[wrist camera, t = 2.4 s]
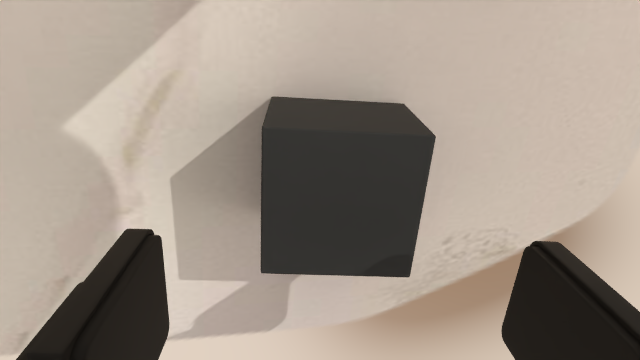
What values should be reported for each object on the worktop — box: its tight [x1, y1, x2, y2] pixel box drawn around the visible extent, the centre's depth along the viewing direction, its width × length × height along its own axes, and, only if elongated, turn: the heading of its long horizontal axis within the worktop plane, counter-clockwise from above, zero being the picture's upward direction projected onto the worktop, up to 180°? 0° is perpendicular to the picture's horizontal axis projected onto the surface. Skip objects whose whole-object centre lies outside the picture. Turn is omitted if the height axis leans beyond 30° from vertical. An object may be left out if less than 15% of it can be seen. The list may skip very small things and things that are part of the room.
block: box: [261, 97, 436, 277], centre depth 14 cm, size 5×5×4 cm
